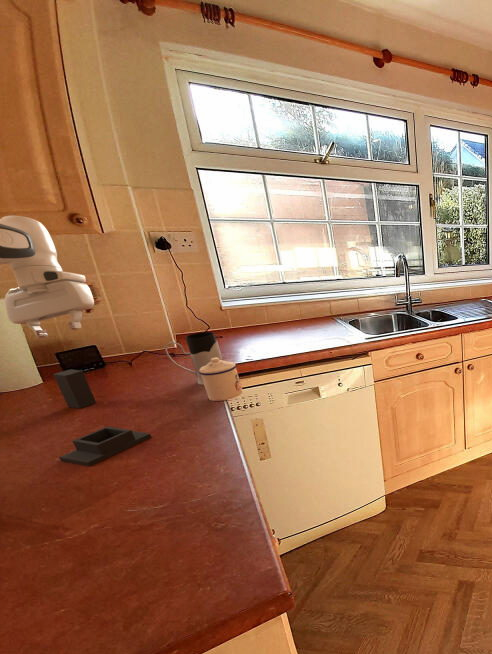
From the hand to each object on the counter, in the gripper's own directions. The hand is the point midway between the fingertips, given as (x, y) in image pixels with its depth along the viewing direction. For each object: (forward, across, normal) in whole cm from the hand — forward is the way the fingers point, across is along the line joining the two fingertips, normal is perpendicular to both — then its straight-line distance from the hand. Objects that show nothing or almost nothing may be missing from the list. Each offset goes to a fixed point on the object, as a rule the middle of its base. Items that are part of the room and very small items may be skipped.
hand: (59, 332), depth 112 cm
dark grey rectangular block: (+19, -8, +7) cm, 22 cm away
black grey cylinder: (+19, +17, +23) cm, 35 cm away
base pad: (+33, +20, -17) cm, 42 cm away
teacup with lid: (+26, +30, +12) cm, 41 cm away
